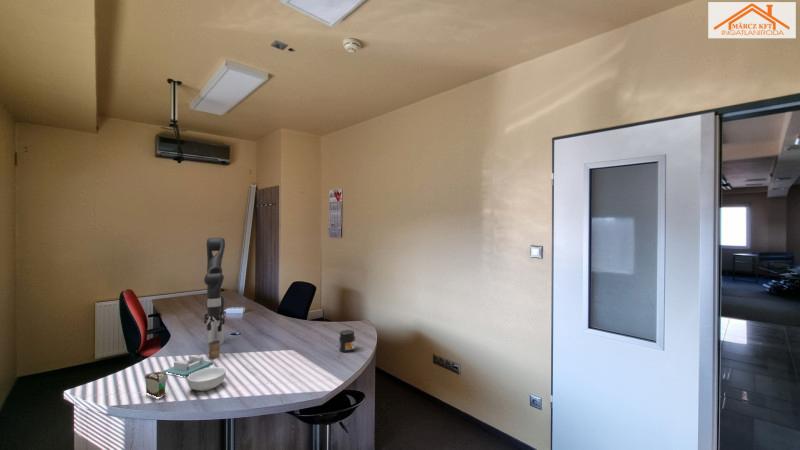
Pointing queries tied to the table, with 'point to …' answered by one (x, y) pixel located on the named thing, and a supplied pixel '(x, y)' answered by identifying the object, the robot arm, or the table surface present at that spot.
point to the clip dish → (205, 364)
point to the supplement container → (347, 341)
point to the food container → (156, 383)
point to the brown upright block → (214, 349)
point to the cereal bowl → (206, 378)
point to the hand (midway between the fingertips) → (214, 330)
